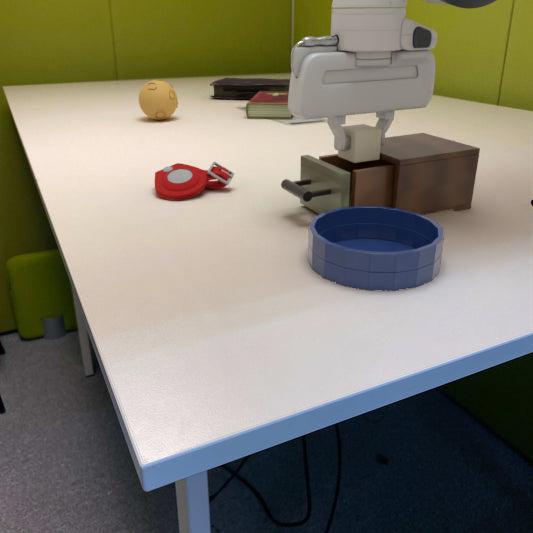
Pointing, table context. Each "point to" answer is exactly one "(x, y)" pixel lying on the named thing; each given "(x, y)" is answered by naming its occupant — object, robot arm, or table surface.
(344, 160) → the drawer
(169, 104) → the stress ball
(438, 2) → the robot arm
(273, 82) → the diary
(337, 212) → the bowl
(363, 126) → the block
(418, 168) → the cabinet
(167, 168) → the tracker holder
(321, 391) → the table surface
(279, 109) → the hardcover book
